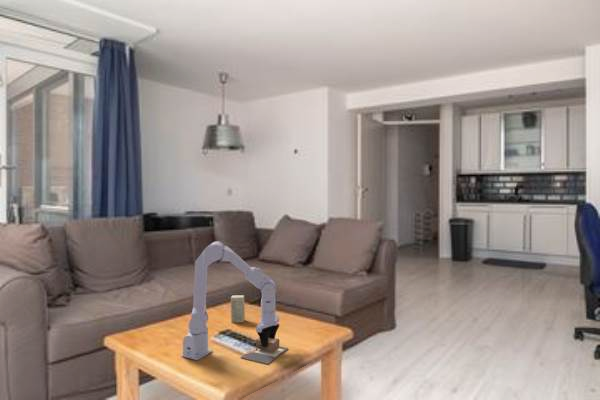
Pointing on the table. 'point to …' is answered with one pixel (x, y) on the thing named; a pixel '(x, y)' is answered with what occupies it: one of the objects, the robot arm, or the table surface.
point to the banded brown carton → (272, 344)
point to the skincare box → (237, 308)
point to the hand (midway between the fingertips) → (267, 344)
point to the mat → (264, 355)
